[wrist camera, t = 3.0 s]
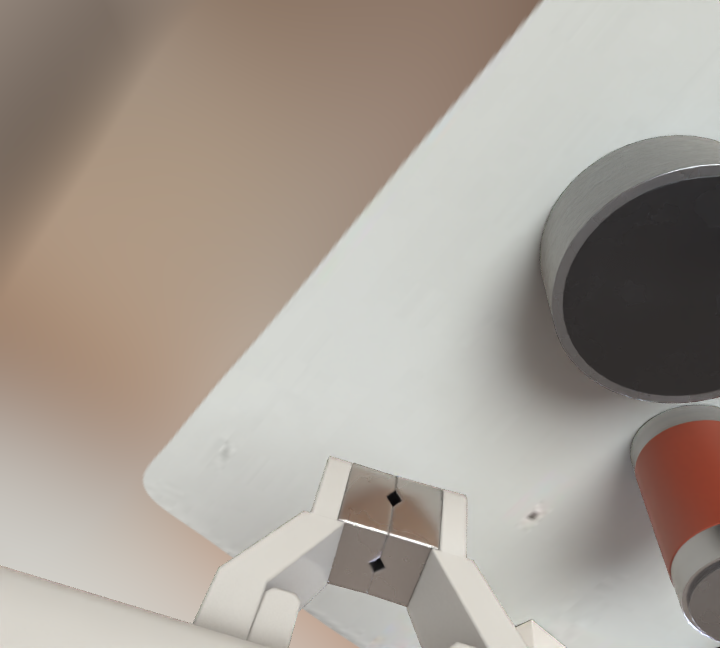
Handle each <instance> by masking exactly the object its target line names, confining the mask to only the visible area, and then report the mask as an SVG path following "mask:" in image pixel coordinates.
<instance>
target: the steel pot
mask: <svg viewBox="0 0 720 648" xmlns="http://www.w3.org/2000/svg"><path fill="white" fill-rule="evenodd" d="M540 268H541V274H542V278H543V282H544V286H545V290H546V294H547V298H548V302H549V306H550V311H551V315H552V319H553V322H554V326H555V330H556V333H557V336H558V338H559V340H560V343H561V345H562V347H563V349H564V350H565V352H566V353H567V355H568V356H569V358H570V359H571V360H572V361H573V363H574V364H575V365H576V366H577V367H578V368H579V369H580V370H581V371H582V372H583V373H584V374H586V375H587V376H588V377H589V378H590V379H592V380H594V381H595V382H597V383H598V384H600V385H601V386H603V387H605V388H607V389H609V390H611V391H613V392H616V393H618V394H621V395H624V396H627V397H630V398H634V399H639V400H643V401H649V402H658V403H687V402H698V401H703V400H709V399H714V398H718V397H720V142H718V141H715V140H712V139H708V138H702V137H697V136H683V135H674V136H661V137H656V138H651V139H645V140H642V141H639V142H635V143H632V144H629V145H626V146H624V147H622V148H620V149H617V150H615V151H613V152H611V153H609V154H608V155H606V156H604V157H602V158H601V159H599V160H597V161H596V162H595V163H593V164H592V165H591V166H589V167H588V168H587V169H585V170H584V171H583V172H582V173H581V174H580V175H579V176H578V177H576V178H575V179H574V180H573V181H572V182H571V183H570V185H569V186H568V187H567V188H566V189H565V191H564V192H563V193H562V194H561V196H560V197H559V199H558V200H557V202H556V204H555V205H554V207H553V209H552V211H551V213H550V215H549V217H548V219H547V221H546V224H545V228H544V231H543V234H542V239H541V245H540Z"/></svg>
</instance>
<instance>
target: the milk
mask: <svg viewBox="0 0 720 648" xmlns="http://www.w3.org/2000/svg"><path fill="white" fill-rule="evenodd" d="M516 629H517V631H518V632H519V634H520V635H521V637H522V639H523V640H524V642H525V643H526V645H527V647H528V648H566V647H565V646H564V645H562V644H561V643H560V642H559V641H558V640H556V639H555V638H554V637H553V636H551V635H550V634H549V633H548V632H547V631H545V630H544V629H543V628H542V627H540V626H539V625H538V624H537V623H535V622H534V621H533V620H530V621H528V622H526V623H524V624H522V625H519V626H517V627H516Z"/></svg>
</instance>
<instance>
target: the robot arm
mask: <svg viewBox="0 0 720 648" xmlns="http://www.w3.org/2000/svg"><path fill="white" fill-rule="evenodd" d="M351 466H352V467H351ZM350 470H351V471H350ZM327 583H329V584H333V585H336V586H340V587H344V588H347V589H351V590H355V591H359V592H362V593H366V594H369V595H372V596H375V597H378V598H381V599H385V600H388V601H391V602H394V603H397V604H400V605H403V606H406V607H407V611H408V614H409V616H410V619H411V622H412V624H413V627H414V629H415V632H416V634H417V637H418V639H419V642H420V645H421V647H422V648H528V647H527V645H526V643H525V642H524V640H523V639H522V637H521V635H520V634H519V632H518V631H517V629H516V627H515V626H514V624H513V623H512V621H511V620H510V618H509V616H508V615H507V613H506V612H505V610H504V608H503V607H502V605H501V604H500V602H499V600H498V599H497V597H496V596H495V594H494V592H493V591H492V589H491V588H490V586H489V584H488V583H487V581H486V580H485V578H484V576H483V575H482V573H481V572H480V570H479V568H478V567H477V565H476V564H475V562H474V561H473V560H470V559H467V497H466V495H464V494H460V493H456V492H453V491H449V490H445V489H441V488H437V487H434V486H430V485H426V484H423V483H419V482H416V481H412V480H409V479H405V478H401V477H398V476H394V475H391V474H388V473H384V472H381V471H378V470H375V469H372V468H368V467H365V466H362V465H359V464H356V463H353V464H352V463H351V462H347V461H344V460H341V459H338V458H335V457H332V456H330V457H329V459H328V460H327V463H326V466H325V469H324V472H323V476H322V479H321V482H320V485H319V488H318V491H317V494H316V497H315V500H314V503H313V507H312V510H311V513H310V512H307V511H303V512H301V513H300V514H298V515H297V516H295V517H294V518H292V519H291V520H289V521H288V522H286V523H285V524H283V525H282V526H280V527H279V528H277V529H276V530H274V531H273V532H271V533H270V534H268V535H267V536H265V537H264V538H262V539H261V540H259V541H258V542H256V543H255V544H253V545H252V546H250V547H249V548H247V549H246V550H244V551H243V552H241V553H240V554H238V555H237V556H235V557H234V558H232V559H231V560H229V561H228V562H226V563H225V564H224V565H222V566H221V567H219V568H218V570H217V572H216V574H215V577H214V579H213V581H212V583H211V585H210V587H209V590H208V592H207V594H206V596H205V598H204V600H203V602H202V604H201V607H200V609H199V611H198V613H197V615H196V618H195V620H194V622H193V624H191V623H188V622H184V621H181V620H178V619H175V618H171V617H168V616H165V615H162V614H158V613H155V612H152V611H148V610H145V609H142V608H139V607H135V606H132V605H128V604H125V603H122V602H119V601H116V600H112V599H109V598H106V597H102V596H99V595H96V594H92V593H89V592H86V591H83V590H79V589H76V588H72V587H70V586H66V585H63V584H60V583H56V582H53V581H50V580H47V579H43V578H40V577H37V576H33V575H30V574H27V573H23V572H20V571H17V570H14V569H10V568H7V567H4V566H1V565H0V648H288V647H289V644H290V641H291V637H292V633H293V630H294V626H295V622H296V618H297V615H298V612H299V611H300V610H301V609H302V608H303V607H304V606H305V605H306V604H307V603H308V602H309V601H310V600H312V599H313V598H314V597H315V596H316V595H317V594H318V593H319V592H320V591H321V590H322V589H323V588H324V587H325V586H326V585H327Z"/></svg>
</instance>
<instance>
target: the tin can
mask: <svg viewBox="0 0 720 648" xmlns="http://www.w3.org/2000/svg"><path fill="white" fill-rule="evenodd" d="M630 458H631V462H632V466H633V469H634V471H635V475H636V480H637V483H638V486H639V489H640V492H641V495H642V497H643V500H644V503H645V506H646V509H647V512H648V515H649V518H650V521H651V524H652V527H653V530H654V533H655V536H656V539H657V541H658V544H659V547H660V550H661V553H662V556H663V559H664V562H665V565H666V568H667V571H668V574H669V577H670V580H671V582H672V584H673V586H674V588H675V591H676V594H677V597H678V600H679V603H680V606H681V609H682V611H683V613H684V616H685V617H686V619H687V620H688V622H689V623H690V624H691V625H692V626H693V627H694V628H695V629H697V630H698V631H699V632H700V633H702V634H704V635H705V636H707V637H709V638H711V639H714V640H716V641H719V642H720V408H719V407H714V406H708V405H688V406H682V407H677V408H674V409H670V410H668V411H665V412H663V413H661V414H659V415H657V416H655V417H653V418H652V419H650V420H649V421H648V422H647V423H645V424H644V425H643V426H642V427H641V428H640V430H639V431H638V432H637V434H636V435H635V437H634V439H633V442H632V445H631V450H630Z"/></svg>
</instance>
